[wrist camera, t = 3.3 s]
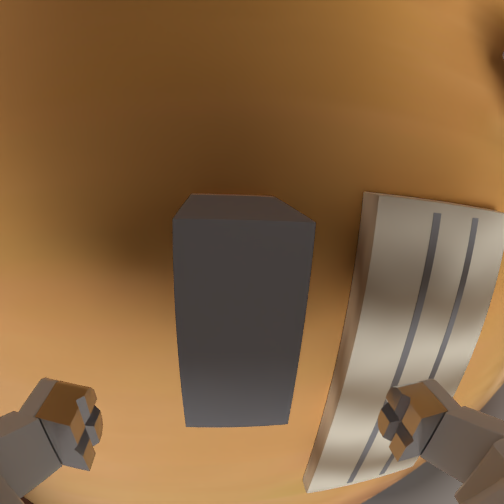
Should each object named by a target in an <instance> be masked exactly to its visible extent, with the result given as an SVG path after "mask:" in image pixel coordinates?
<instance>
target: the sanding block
mask: <svg viewBox="0 0 504 504" xmlns="http://www.w3.org/2000/svg"><path fill="white" fill-rule="evenodd" d="M315 228H316V222H314V221H313V220H311V219H310V218H308V217H307V216H305V215H303V214H302V213H300V212H299V211H297V210H295V209H294V208H292V207H291V206H289V205H287V204H286V203H284V202H283V201H281V200H279V199H278V198H276V197H274V196H264V195H238V194H194V193H192V194H191V195H190V196H189V198H188V199H187V200H186V201H185V203H184V204H183V205H182V207H181V208H180V209H179V211H178V212H177V213H176V215H175V216H174V217H173V270H174V296H175V315H176V331H177V344H178V357H179V368H180V379H181V388H182V398H183V406H184V415H185V423H186V427H251V426H269V425H282V424H288V419H289V414H290V409H291V403H292V398H293V392H294V386H295V380H296V374H297V368H298V362H299V355H300V349H301V342H302V336H303V329H304V322H305V314H306V307H307V299H308V291H309V283H310V275H311V266H312V257H313V248H314V238H315Z"/></svg>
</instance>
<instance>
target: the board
mask: <svg viewBox="0 0 504 504" xmlns="http://www.w3.org/2000/svg"><path fill="white" fill-rule="evenodd" d="M503 250H504V213H503V212H499V211H496V210H491V209H486V208H480V207H475V206H469V205H463V204H456V203H450V202H443V201H437V200H430V199H423V198H415V197H407V196H399V195H391V194H382V193H373V192H364V193H363V203H362V213H361V222H360V230H359V238H358V246H357V253H356V260H355V266H354V273H353V279H352V285H351V291H350V297H349V303H348V308H347V313H346V319H345V324H344V329H343V334H342V338H341V343H340V348H339V352H338V357H337V361H336V365H335V370H334V374H333V378H332V382H331V386H330V390H329V394H328V398H327V401H326V405H325V409H324V412H323V416H322V420H321V423H320V427H319V430H318V433H317V437H316V440H315V443H314V446H313V450H312V453H311V456H310V459H309V462H308V465H307V468H306V471H305V474H304V477H303V483H304V486H305V490H306V493H312V492H318V491H323V490H328V489H333V488H338V487H343V486H347V485H351V484H355V483H359V482H363V481H367V480H371V479H374V478H378V477H381V476H385V475H388V474H391V473H394V472H397V471H400V470H403V469H406V468H409V467H412V466H413V465H414V463H415V462H416V460H417V459H418V457H419V456H417V457H414V458H410V459H407V460H403V461H400V462H397V460H396V458H395V457H394V455H393V453H392V452H391V450H390V448H389V444H390V441H389V440H387V439H385V438H383V437H382V435H381V433H380V431H379V428H378V416H379V413H380V410H381V408H382V407H383V406H384V405H385V404H387V403H388V402H387V400H386V398H385V397H386V395H387V393H388V391H389V390H390V388H391V387H395V386H400V385H405V384H410V383H415V382H419V381H423V380H427V379H434V380H436V381H437V382H438V383H439V384H440V385H441V386H442V387H443V388H444V389H445V390H446V391H447V392H448V394H449V395H450V396H451V397H452V398H453V396H454V394H455V392H456V390H457V388H458V386H459V383H460V381H461V379H462V377H463V375H464V372H465V370H466V368H467V366H468V363H469V361H470V358H471V356H472V353H473V351H474V348H475V346H476V343H477V341H478V338H479V335H480V332H481V330H482V327H483V324H484V321H485V318H486V315H487V312H488V308H489V305H490V302H491V299H492V295H493V292H494V288H495V284H496V280H497V277H498V273H499V268H500V264H501V260H502V255H503Z"/></svg>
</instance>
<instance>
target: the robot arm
mask: <svg viewBox="0 0 504 504" xmlns="http://www.w3.org/2000/svg"><path fill="white" fill-rule="evenodd" d="M385 398H386V400H387V402H388V403H387V404H385V405H384V406H383V407H382V408H381V410H380V413H379V416H378V428H379V431H380V433H381V435H382V437H383V438H385V439H387V440H389V441H390V444H389V448H390V450H391V452H392V453H393V455H394V457H395V458H396V460H397V462H400V461H403V460H407V459H410V458H414V457H417V456H420V455H421V456H420V457H422V458H423V459H425V460H426V461H428V462H429V463H431V464H433V465H434V466H436V467H437V468H439V469H440V470H442V471H444V472H445V473H447V474H449V475H450V476H452V477H454V478H455V479H457V480H459V481H460V482H462V483H463V485H462V486H461V487H460V488H459V489H458V491H457V492H456V493H455V498H456V500H457V501H458V503H459V504H504V421H503V420H500V419H497V418H495V417H492V416H489V415H487V414H484V413H481V412H479V411H476V410H474V409H471V408H468V407H466V406H463V407H461V406H460V405H459V404H458V403H457V402H456V401H455V400H454V399H453V398H452V397H451V396H450V395H449V394H448V392H447V391H446V390H445V389H444V388H443V387H442V386H441V385H440V384H439V383H438V382H437V381H436V380H434V379H427V380H423V381H419V382H415V383H410V384H405V385H400V386H395V387H391V388H390V390H389V391H388V393H387V395H386V397H385ZM96 400H97V397H96V394H95V391H94V389H92V388H91V387H86V386H81V385H77V384H72V383H68V382H63V381H57V380H53V379H49V378H46V377H45V378H43V379H41V380H40V381H39V383H38V384H37V385H36V387H35V388H34V390H33V391H32V393H31V394H30V395H29V397H28V398H27V400H26V401H25V403H24V404H23V406H22V407H21V409H20V410H19V412H16V411H13V412H10V413H8V414H6V415H4V416H2V417H0V504H24V502H23V501H22V500H21V499H20V498H22V497H23V496H24V495H26V494H27V493H28V492H30V491H31V490H32V489H34V488H35V487H36V486H37V485H39V484H40V483H41V482H43V481H44V480H45V479H46V478H48V477H49V476H50V475H51V474H53V473H54V472H55V471H57V470H58V469H59V468H60V467H62V465H66V466H70V467H74V468H78V469H82V470H87V471H90V469H91V466H92V463H93V460H94V457H95V454H96V453H95V451H94V448H93V446H94V445H96V444H97V443H99V442H100V439H101V436H102V429H103V421H102V415H101V412H100V410H99V409H98V408H97V407H96V406H95V403H96ZM61 464H62V465H61Z"/></svg>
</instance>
